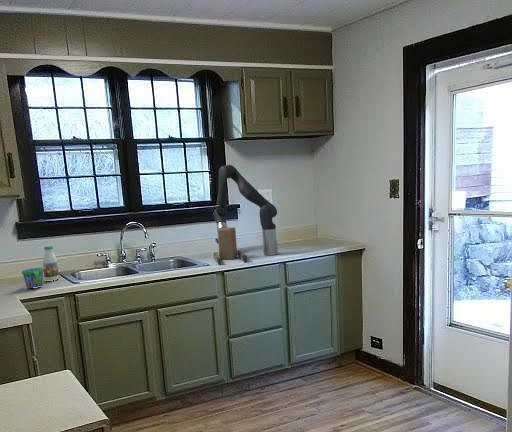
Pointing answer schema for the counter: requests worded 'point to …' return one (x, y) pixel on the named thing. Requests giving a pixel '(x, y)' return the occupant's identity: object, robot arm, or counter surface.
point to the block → (227, 243)
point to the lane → (240, 255)
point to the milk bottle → (50, 264)
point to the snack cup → (33, 277)
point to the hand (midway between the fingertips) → (226, 249)
